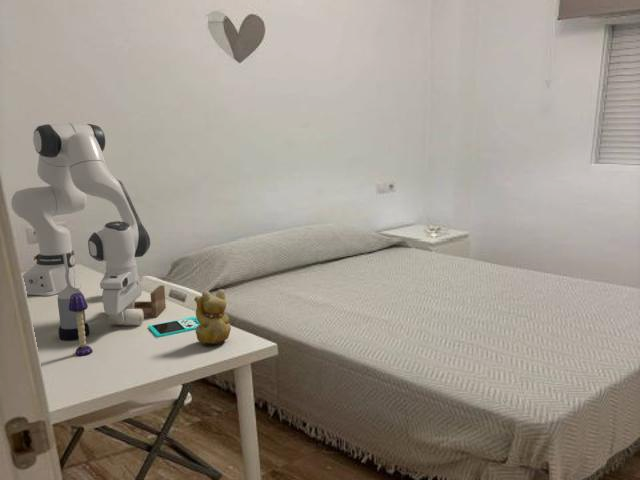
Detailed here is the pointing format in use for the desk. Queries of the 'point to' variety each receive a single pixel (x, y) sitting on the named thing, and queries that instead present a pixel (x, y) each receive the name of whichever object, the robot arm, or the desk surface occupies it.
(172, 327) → the handheld game console
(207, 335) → the decorative figurine
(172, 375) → the desk surface
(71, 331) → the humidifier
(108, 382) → the desk surface
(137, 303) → the holder
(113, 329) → the desk surface
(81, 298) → the toy lamp
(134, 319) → the roll
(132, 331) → the desk surface
